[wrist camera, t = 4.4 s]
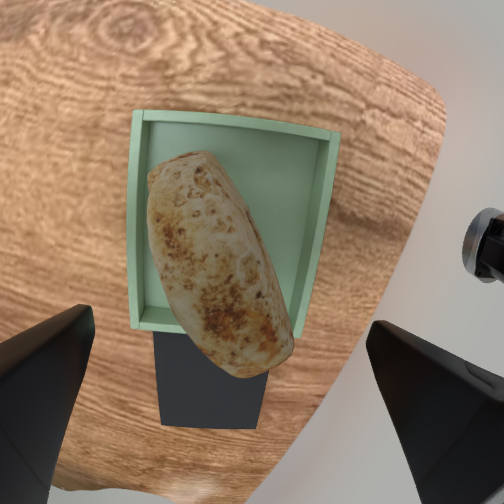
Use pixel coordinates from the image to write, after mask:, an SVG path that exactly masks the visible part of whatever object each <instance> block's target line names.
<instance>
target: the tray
mask: <svg viewBox="0 0 504 504" xmlns="http://www.w3.org/2000/svg"><path fill="white" fill-rule="evenodd" d="M340 138H341V133H340V132H336V131H330V130H326V129H321V128H316V127H310V126H305V125H299V124H293V123H287V122H281V121H274V120H267V119H260V118H252V117H244V116H236V115H226V114H216V113H204V112H190V111H171V110H133V116H132V126H131V136H130V148H129V163H128V182H127V222H126V236H127V276H128V296H129V310H130V323H131V328H132V329H141V330H150V331H161V332H172V333H184V334H187V333H186V332H185V331H184V329H183V328H182V327H181V326H180V324H179V323H178V321H177V319H176V318H175V316H174V314H173V313H172V311H171V309H170V306H169V304H168V301H167V298H166V295H165V293H164V290H163V287H162V284H161V281H160V278H159V274H158V272H157V269H156V266H155V263H154V260H153V256H152V252H151V248H150V245H149V240H148V225H147V205H148V197H149V190H148V184H147V175H148V174H149V172H150V171H151V170H153V169H154V168H155V167H156V166H157V165H158V164H160V163H162V162H164V161H166V160H168V159H171V158H173V157H176V156H179V155H182V154H185V153H187V152H193V151H200V150H202V151H210V152H211V153H212V154H213V155H214V156H215V157H216V158H217V160H218V161H219V162H220V164H221V165H222V166H223V167H224V168H225V170H226V172H227V174H228V175H229V177H230V178H231V180H232V181H233V183H234V184H235V186H236V188H237V189H238V191H239V193H240V194H241V196H242V198H243V200H244V201H245V203H246V205H247V206H248V207H249V208H250V213H251V215H252V217H253V219H254V221H255V223H256V225H257V227H258V230H259V232H260V234H261V237H262V240H263V242H264V244H265V246H266V249H267V251H268V253H269V256H270V258H271V261H272V264H273V267H274V270H275V273H276V276H277V279H278V282H279V285H280V288H281V292H282V295H283V298H284V302H285V305H286V308H287V313H288V316H289V319H290V323H291V327H292V331H293V337H294V338H301V335H302V331H303V327H304V323H305V318H306V314H307V310H308V306H309V302H310V297H311V293H312V289H313V284H314V280H315V275H316V270H317V266H318V261H319V256H320V252H321V247H322V242H323V237H324V232H325V226H326V221H327V216H328V211H329V205H330V200H331V194H332V188H333V182H334V176H335V170H336V164H337V158H338V151H339V145H340Z"/></svg>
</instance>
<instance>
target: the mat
mask: <svg viewBox="0 0 504 504" xmlns="http://www.w3.org/2000/svg"><path fill="white" fill-rule="evenodd" d="M153 339H154V355H155V368H156V380H157V391H158V401H159V410H160V418H161V425H165V426H176V427H190V428H210V429H256V426H257V421H258V417H259V413H260V408H261V404H262V400H263V395H264V391H265V386H266V382H267V377H268V372H269V370H268V371H266V372H264V373H261V374H258V375H255V376H253V377H249V378H237V377H235V376H232V375H230V374H229V373H228V372H226V371H225V370H223V369H221V368H220V367H218V366H217V365H216V364H215V363H214V362H212V361H211V360H210V359H209V358H208V357H207V356H206V355H205V354H204V353H203V352H202V351H201V350H200V349H199V348H198V347H197V346H196V345H195V344H194V342H193V341H192V340H191V338H190V337H189V336H188V334H184V333H172V332H161V331H153Z"/></svg>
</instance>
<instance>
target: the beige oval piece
mask: <svg viewBox="0 0 504 504" xmlns="http://www.w3.org/2000/svg"><path fill="white" fill-rule="evenodd" d="M147 184H148V190H149V197H148V205H147V225H148V240H149V245H150V248H151V252H152V256H153V260H154V263H155V266H156V269H157V272H158V274H159V278H160V281H161V284H162V287H163V290H164V293H165V295H166V298H167V301H168V304H169V306H170V309H171V311H172V313H173V314H174V316H175V318H176V319H177V321H178V323H179V324H180V326H181V327H182V328H183V329H184V331H185V332H186V333H187V334H188V336H189V337H190V338H191V340H192V341H193V342H194V344H195V345H196V346H197V347H198V348H199V349H200V350H201V351H202V352H203V353H204V354H205V355H206V356H207V357H208V358H209V359H210V360H211V361H212V362H214V363H215V364H216V365H217V366H218V367H220V368H221V369H223V370H225V371H226V372H228V373H229V374H230V375H232V376H235V377H237V378H249V377H253V376H255V375H258V374H261V373H264V372H266V371H268V370H271V369H272V368H274V367H276V366H278V365H280V364H281V363H283V362H284V361H286V360H287V359H288V358H289V357H290V356H291V354H292V351H293V349H294V337H293V331H292V327H291V323H290V319H289V316H288V313H287V308H286V305H285V302H284V298H283V295H282V292H281V288H280V285H279V282H278V279H277V276H276V273H275V270H274V267H273V264H272V261H271V258H270V256H269V253H268V251H267V249H266V246H265V244H264V242H263V240H262V237H261V234H260V232H259V230H258V227H257V225H256V223H255V221H254V219H253V217H252V215H251V213H250V208H249V207H248V206H247V205H246V203H245V201H244V200H243V198H242V196H241V194H240V193H239V191H238V189H237V188H236V186H235V184H234V183H233V181H232V180H231V178H230V177H229V175H228V174H227V172H226V170H225V168H224V167H223V166H222V165H221V164H220V162H219V161H218V160H217V158H216V157H215V156H214V155H213V154H212V153H211V152H210V151H202V150H200V151H193V152H187V153H185V154H182V155H179V156H176V157H173V158H171V159H168V160H166V161H164V162H162V163H160V164H158V165H157V166H156V167H155V168H154V169H153V170H151V171H150V172H149V174H148V175H147Z"/></svg>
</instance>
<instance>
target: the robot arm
mask: <svg viewBox="0 0 504 504" xmlns="http://www.w3.org/2000/svg"><path fill="white" fill-rule="evenodd" d="M474 275H475V276H476V277H477V278H494V279H498V280H499V281H501V282H502V283H504V220H501V219H497V218H494V217H492V218H491V219H490V221H489V224H488V228H487V232H486V236H485V239H484V243H483V246H482V250H481V253H480V256H479V260H478V263H477V266H476V269H475V272H474ZM94 336H95V324H94V318H93V311H92V308H91V306H90V305H84V304H78V305H76V306H74V307H72V308H69V309H67V310H65V311H63V312H61V313H59V314H57V315H55V316H53V317H51V318H49V319H47V320H45V321H43V322H41V323H39V324H37V325H35V326H33V327H31V328H29V329H27V330H25V331H23V332H21V333H19V334H17V335H15V336H14V337H12V338H10V339H8V340H6V341H4V342H2V343H0V504H47V501H48V496H49V490H50V487H51V483H52V478H53V474H54V470H55V467H56V463H57V459H58V455H59V452H60V448H61V445H62V441H63V438H64V435H65V431H66V428H67V425H68V422H69V419H70V416H71V413H72V410H73V407H74V404H75V401H76V398H77V395H78V392H79V389H80V386H81V384H82V381H83V378H84V375H85V371H86V368H87V363H88V359H89V355H90V351H91V348H92V344H93V340H94ZM366 349H367V352H368V356H369V359H370V362H371V365H372V369H373V372H374V375H375V379H376V381H377V384H378V387H379V390H380V392H381V395H382V397H383V400H384V402H385V404H386V407H387V409H388V412H389V415H390V417H391V419H392V422H393V425H394V427H395V430H396V432H397V435H398V438H399V440H400V443H401V445H402V448H403V451H404V454H405V457H406V459H407V462H408V465H409V468H410V470H411V473H412V476H413V479H414V482H415V484H416V488H417V491H418V494H419V497H420V500H421V503H422V504H504V378H503V377H501V376H498V375H496V374H493V373H491V372H489V371H487V370H484V369H482V368H480V367H478V366H476V365H474V364H472V363H470V362H468V361H465V360H463V359H462V358H460V357H458V356H456V355H454V354H452V353H450V352H448V351H446V350H444V349H442V348H440V347H438V346H436V345H434V344H432V343H430V342H428V341H426V340H424V339H422V338H420V337H417V336H416V335H414V334H412V333H410V332H407V331H406V330H403V329H402V328H399V327H398V326H395V325H394V324H391V323H390V322H388V321H384V320H377V321H374V322H373V323H372V326H371V328H370V331H369V334H368V337H367V340H366Z"/></svg>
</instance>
